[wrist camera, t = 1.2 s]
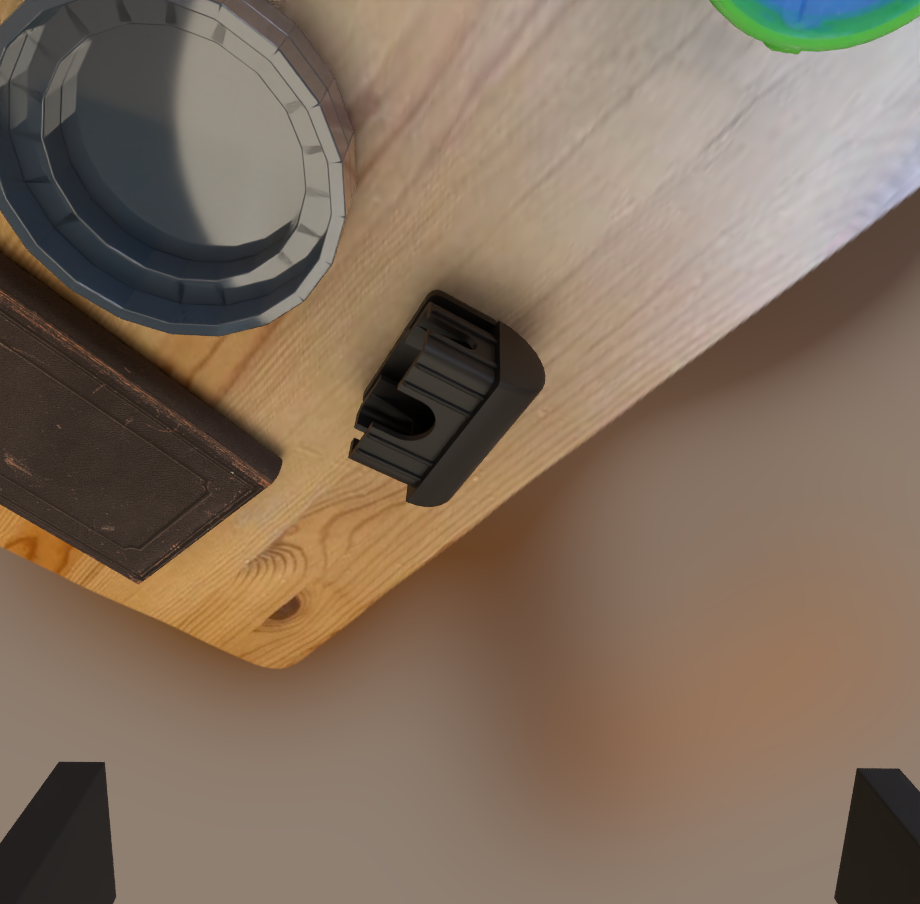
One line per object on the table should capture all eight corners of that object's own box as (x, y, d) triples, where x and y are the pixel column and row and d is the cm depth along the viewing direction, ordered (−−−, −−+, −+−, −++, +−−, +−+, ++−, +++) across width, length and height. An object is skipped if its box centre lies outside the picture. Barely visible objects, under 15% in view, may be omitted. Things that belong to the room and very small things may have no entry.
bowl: (-53, 96, 39) (-106, 128, 36) (185, -138, 33) (149, -125, 29) (195, 339, 48) (172, 384, 44) (422, 191, 42) (416, 231, 38)
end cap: (455, 448, 53) (451, 524, 48) (357, 401, 50) (341, 475, 45) (544, 337, 47) (550, 409, 42) (437, 279, 45) (430, 347, 40)
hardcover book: (148, 561, 61) (138, 585, 59) (-170, 370, 50) (-194, 392, 48) (285, 455, 54) (278, 479, 52) (-54, 205, 43) (-77, 224, 41)
